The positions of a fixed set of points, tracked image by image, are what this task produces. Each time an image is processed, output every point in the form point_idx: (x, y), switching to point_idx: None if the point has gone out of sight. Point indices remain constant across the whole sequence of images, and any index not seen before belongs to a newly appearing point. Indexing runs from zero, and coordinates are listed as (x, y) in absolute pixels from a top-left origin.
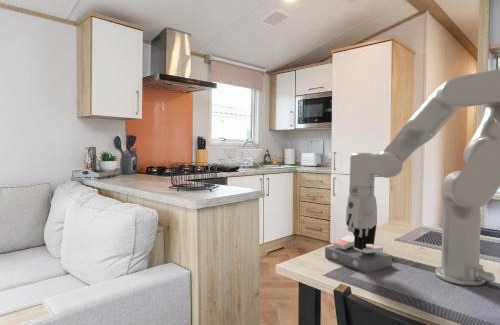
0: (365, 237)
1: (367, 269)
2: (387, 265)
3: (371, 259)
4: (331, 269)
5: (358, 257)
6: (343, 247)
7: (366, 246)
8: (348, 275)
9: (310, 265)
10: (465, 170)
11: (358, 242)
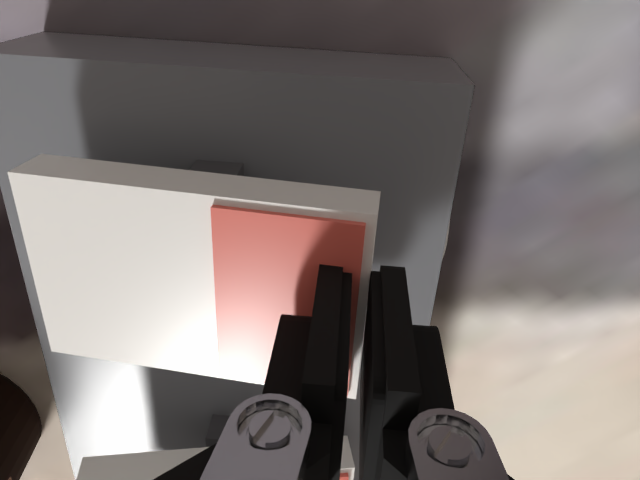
0: (328, 377)
1: (458, 67)
2: (110, 38)
3: (339, 117)
4: (596, 315)
5: (401, 248)
6: (351, 461)
7: (242, 298)
8: (636, 145)
9: (626, 443)
10: None
11: (441, 370)
